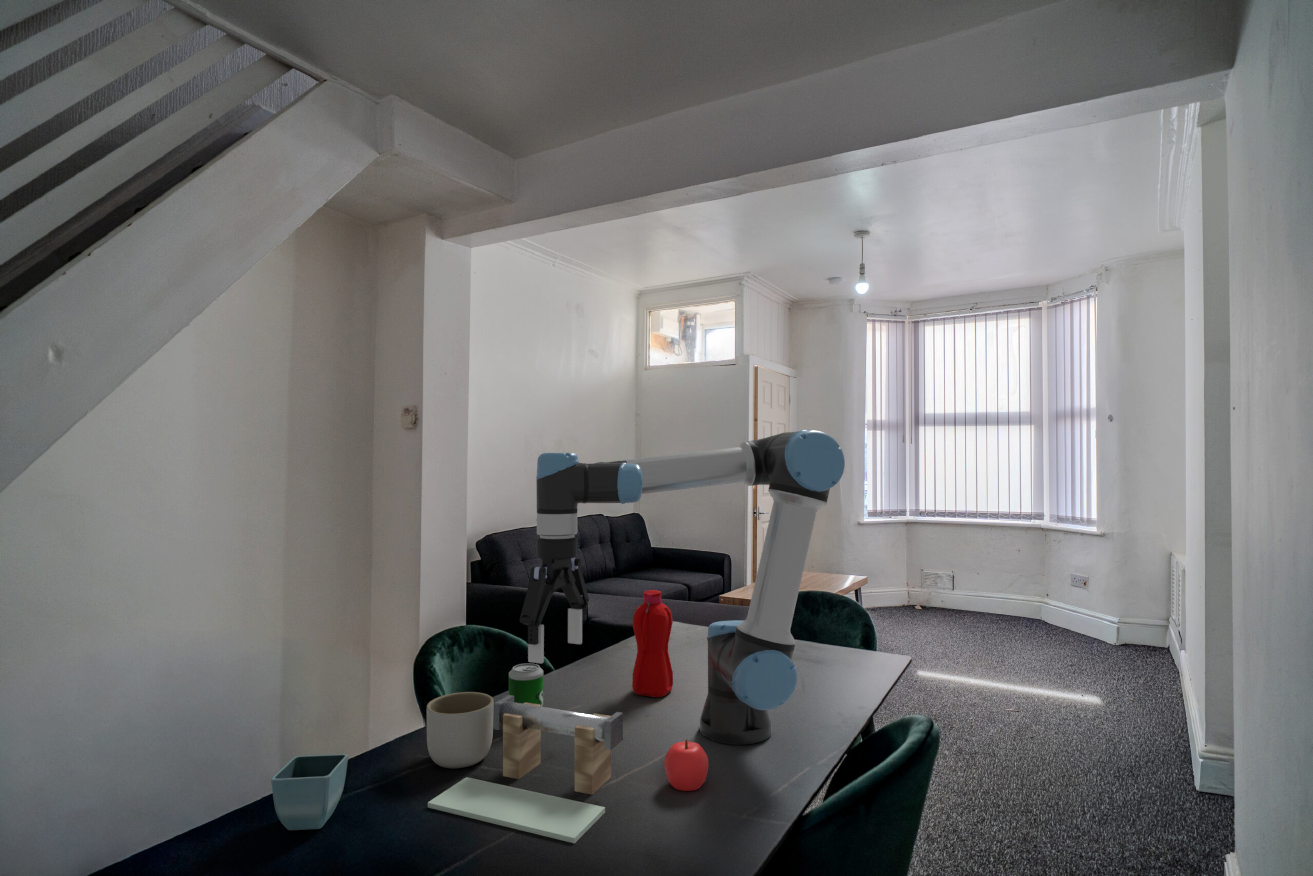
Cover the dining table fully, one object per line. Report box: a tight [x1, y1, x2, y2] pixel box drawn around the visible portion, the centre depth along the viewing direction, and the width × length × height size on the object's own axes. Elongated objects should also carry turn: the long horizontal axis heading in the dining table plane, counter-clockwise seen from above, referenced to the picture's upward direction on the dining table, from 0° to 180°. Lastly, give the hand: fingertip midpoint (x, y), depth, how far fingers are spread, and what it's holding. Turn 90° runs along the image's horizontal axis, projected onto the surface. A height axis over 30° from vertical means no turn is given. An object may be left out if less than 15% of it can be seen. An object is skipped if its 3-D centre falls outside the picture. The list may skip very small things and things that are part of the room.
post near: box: [574, 713, 612, 796], centre depth 124 cm, size 4×7×11 cm, turn 157°
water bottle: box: [631, 589, 674, 698], centre depth 172 cm, size 9×11×25 cm
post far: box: [502, 702, 542, 780], centre depth 130 cm, size 4×7×11 cm, turn 157°
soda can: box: [508, 663, 544, 707], centre depth 153 cm, size 8×8×12 cm
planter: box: [426, 691, 495, 769], centre depth 134 cm, size 12×12×11 cm
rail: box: [493, 694, 624, 751], centre depth 127 cm, size 24×5×5 cm, turn 67°
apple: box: [663, 739, 710, 792], centre depth 123 cm, size 8×8×8 cm
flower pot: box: [270, 753, 349, 831], centre depth 111 cm, size 9×9×9 cm
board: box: [427, 776, 606, 844], centre depth 115 cm, size 28×10×1 cm, turn 67°
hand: (556, 652), depth 127 cm, fingers open, 13 cm apart
